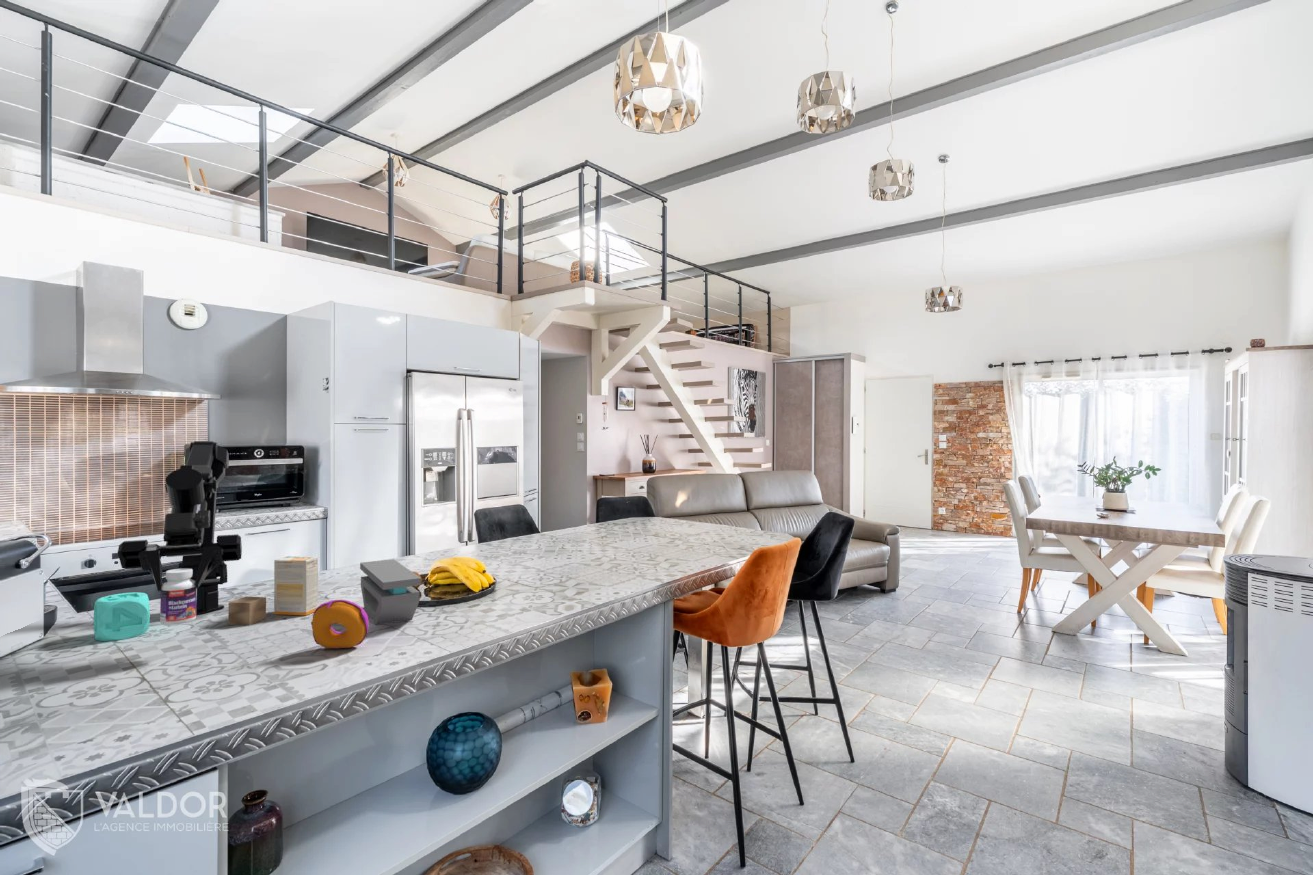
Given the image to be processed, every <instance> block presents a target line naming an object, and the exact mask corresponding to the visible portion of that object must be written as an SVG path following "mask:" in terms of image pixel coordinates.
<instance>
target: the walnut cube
mask: <svg viewBox="0 0 1313 875" xmlns="http://www.w3.org/2000/svg"><path fill="white" fill-rule="evenodd" d="M227 616H228V617H227V618H228V619H227V622H228V623H227V624H228V625H231V626H232V625H233V626H251V625H253V624H256V623H258V621H259V622H262V621H264V620H266V619H267V597H266V596H243V597H240V598H238V599H237V598H236V599H235V600H232V601H228V615H227ZM263 619H264V620H263Z"/></svg>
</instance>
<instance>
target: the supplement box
mask: <svg viewBox="0 0 1313 875" xmlns="http://www.w3.org/2000/svg"><path fill="white" fill-rule="evenodd" d="M273 564H274V565H273V566H274V569H273V570H274V574H273V577H274V580H273V582H274V584H273V585H274V587H273V590H274V592H273V593H274V594H273V596H274V598H273V600H274V602H273V603H274V606H273V610H274V612H273V614H274V615H277V616H280V615H281V616H284V615H285V616H287V615H289V616H308V615H311V614H314V612H315V610H316V609H317V608H318V607H319V556H296V555H295V556H291V555H288V556H284V557H280V558H277V559H274V562H273Z"/></svg>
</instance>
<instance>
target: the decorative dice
mask: <svg viewBox="0 0 1313 875" xmlns="http://www.w3.org/2000/svg"><path fill="white" fill-rule="evenodd" d="M150 611H151V609H150V599H149V595H148V594H147V593H145V592H137V591H136V592H135V591H133V592H123V593H115V594H109V595H106V596H102V597H99V598H97V599H96V601H94V607H93V633H94V638H95V639H94V640H97V641H99V642H114V641H120V640H126V639H127V640H128V639H133V638H136V637H140V636H141V635H143V634H146V633H147V631H148V630H149V627H150V620H151V619H150V618H151V617H150V614H151V612H150Z"/></svg>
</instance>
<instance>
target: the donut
mask: <svg viewBox="0 0 1313 875" xmlns="http://www.w3.org/2000/svg"><path fill="white" fill-rule="evenodd" d="M312 614H313V615H312V621H311V622H310V624H311V629H312V636H313V640H314V642H315V643H316V644H317V645H320V646H321V647H323V648H326V649H338V650H340V649H343V648H344V649H349V648H353V647H357V646H358V645H360V644H361V643H363V642H364V640H365V639H366V637H367V635H368V631H369V630H368V629H369V623H370V622H369V617H368V615H367V613H366V612H365V609H364V607H362V606H360V605H358V603H356V602H354V601H350V600H346V599H333V600H329V601H327V602H324V603H322V604H320V605H318V608H317V609H316V610H315V612H313V613H312ZM332 624H339V625H340V626H343V627H344V628H345V630H344V631H337V630H335V629H334V628H333V626H332Z"/></svg>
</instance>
